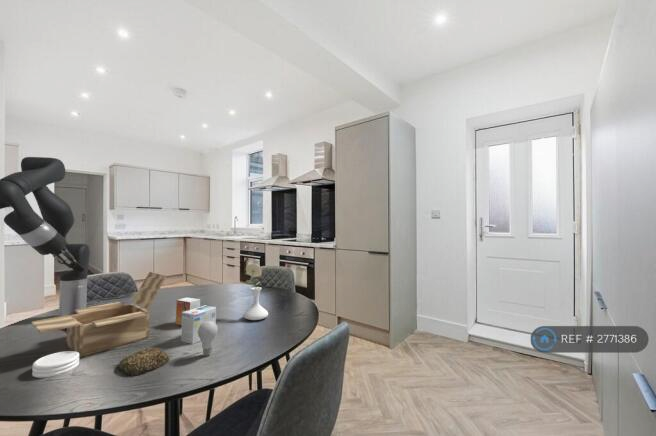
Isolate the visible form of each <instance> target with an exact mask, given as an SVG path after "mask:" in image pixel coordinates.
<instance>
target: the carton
mask: <svg viewBox="0 0 656 436" xmlns="http://www.w3.org/2000/svg"><path fill="white" fill-rule="evenodd" d="M75 312H76V313H78V314H75V315H70V316H69V315H64V316H59V315H58V316H54V317H49V318H43V319H38V320H33V321H31V325H32V326H33V328H35V329H36V331H38V333H39V334H44V333H49V332H50V333H51V332H53V331H59V330H63V329H66V328H67V329H66V343H65V345H66V346H67V347H68V348H69V349H70V351H75V352H78V353H79V359H80V358H82V357H86V356H89V355H90V356H91V355H94V354H97V353H100V352H104V351H108V350H112V349H115V348H119V347H122V346H126V345H129V344H133V343H136V342H139V341H143V340H148V339H149V332H150V329H149V327H150V322H149V321H150V311H149V310H147V309H146V308H144V307H141V306H138V305H137V304H135V303H129V304H124V303H123V302H121V301H118V302H111V303H106V304H100V305H94V306H89V307H87V306H86V308H81V309H76V310H75Z"/></svg>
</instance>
